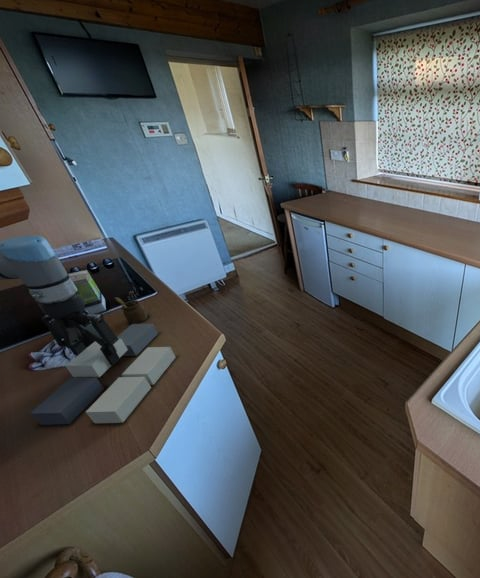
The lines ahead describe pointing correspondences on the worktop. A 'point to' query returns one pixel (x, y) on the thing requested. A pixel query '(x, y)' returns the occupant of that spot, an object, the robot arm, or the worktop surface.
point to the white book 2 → (119, 400)
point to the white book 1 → (93, 360)
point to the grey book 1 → (67, 401)
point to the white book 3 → (151, 364)
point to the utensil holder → (133, 310)
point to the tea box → (87, 292)
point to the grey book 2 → (137, 338)
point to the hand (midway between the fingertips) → (101, 362)
